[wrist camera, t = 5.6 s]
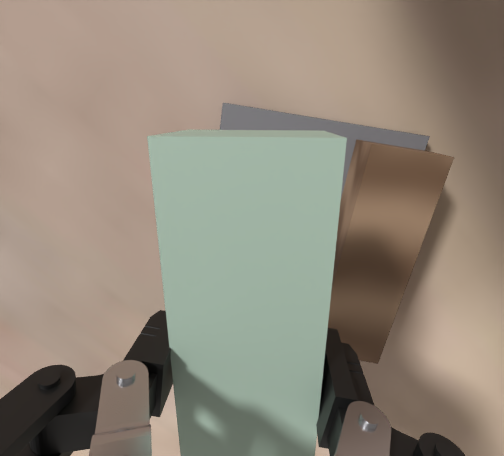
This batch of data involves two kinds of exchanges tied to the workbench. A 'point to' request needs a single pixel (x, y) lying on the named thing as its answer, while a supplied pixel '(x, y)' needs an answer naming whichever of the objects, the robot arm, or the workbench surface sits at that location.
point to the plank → (247, 282)
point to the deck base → (316, 129)
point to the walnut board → (380, 238)
